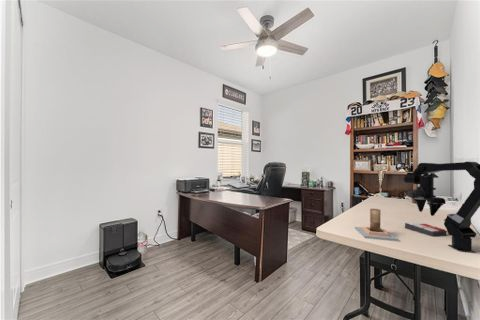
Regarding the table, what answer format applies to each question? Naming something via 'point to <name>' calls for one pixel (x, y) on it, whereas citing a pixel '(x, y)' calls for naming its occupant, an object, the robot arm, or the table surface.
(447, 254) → the table surface
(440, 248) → the table surface
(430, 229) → the grey and red box
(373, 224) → the column
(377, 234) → the plinth
